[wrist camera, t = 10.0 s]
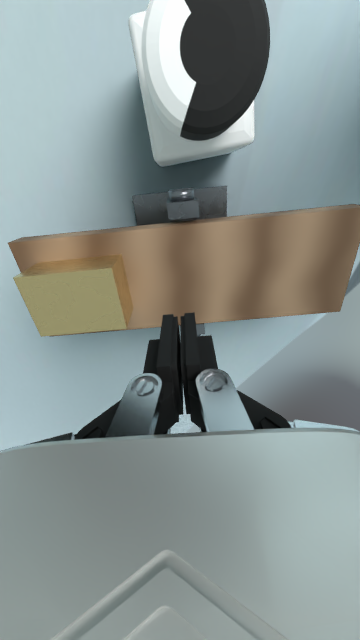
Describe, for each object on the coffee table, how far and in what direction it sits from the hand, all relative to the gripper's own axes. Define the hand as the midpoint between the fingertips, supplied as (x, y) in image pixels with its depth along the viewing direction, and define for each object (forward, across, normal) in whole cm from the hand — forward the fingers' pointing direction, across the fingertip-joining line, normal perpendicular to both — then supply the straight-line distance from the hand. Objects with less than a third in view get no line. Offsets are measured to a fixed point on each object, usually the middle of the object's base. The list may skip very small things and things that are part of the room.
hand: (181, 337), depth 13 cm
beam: (+11, -1, 0) cm, 11 cm away
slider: (+9, +8, 0) cm, 12 cm away
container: (+20, -2, -12) cm, 23 cm away
